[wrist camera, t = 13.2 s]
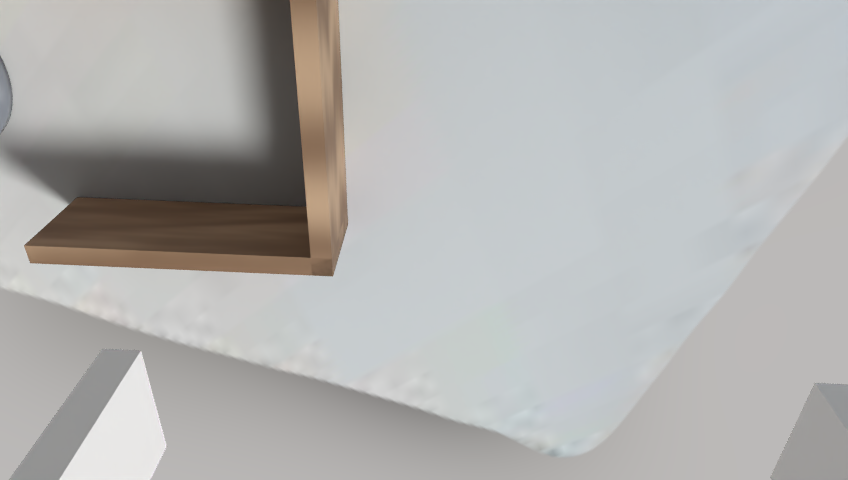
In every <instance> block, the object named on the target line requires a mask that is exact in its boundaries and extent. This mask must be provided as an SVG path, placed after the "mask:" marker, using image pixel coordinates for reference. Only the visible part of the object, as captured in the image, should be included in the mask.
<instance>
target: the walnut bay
mask: <svg viewBox="0 0 848 480" xmlns="http://www.w3.org/2000/svg"><path fill="white" fill-rule="evenodd" d="M290 10H291V22H292V34H293V46H294V59H295V71H296V83H297V95H298V107H299V120H300V132H301V144H302V156H303V169H304V181H305V193H306V205H307V207H302V206H278V205H253V204H229V203H204V202H180V201H156V200H131V199H107V198H83V197H77V198H76V199H75V200H74V201H73V202H72V203H70V204H69V205H68V206H67V207H66V208H65V209H64V210H63V211H62V212H61V213H59V214H58V215H57V216H56V217H55V218H54V219H53V220H52V221H51V222H50V223H48V224H47V225H46V226H45V227H44V228H43V229H42V230H41V231H40V232H38V233H37V234H36V235H35V236H34V237H33V238H32V239H31V240H30V241H29V242H27V243H26V244H25V245H24V247H25V250H26V252H27V255H28V258H29V261H30V263H40V264H63V265H86V266H109V267H132V268H155V269H178V270H201V271H224V272H246V273H269V274H292V275H315V276H333V274H334V271H335V267H336V264H337V261H338V257H339V254H340V250H341V247H342V243H343V240H344V236H345V233H346V229H347V226H348V215H347V192H346V169H345V147H344V124H343V101H342V79H341V56H340V33H339V11H338V0H290Z"/></svg>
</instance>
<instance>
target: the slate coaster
mask: <svg viewBox="0 0 848 480" xmlns="http://www.w3.org/2000/svg"><path fill="white" fill-rule="evenodd" d="M11 110H12V88H11V83H10V79H9V75H8V73H7V70H6V67H5V65H4V63H3V61H2V59H1V57H0V134H1V133H2V132H3V130H4V129H5V127H6V125H7V124H8V121H9V118H10V116H11Z"/></svg>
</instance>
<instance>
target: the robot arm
mask: <svg viewBox="0 0 848 480" xmlns="http://www.w3.org/2000/svg"><path fill="white" fill-rule="evenodd" d="M166 447H167V445H166V442H165V438H164V434H163V431H162V427H161V423H160V419H159V416H158V412H157V408H156V405H155V401H154V397H153V393H152V390H151V386H150V383H149V379H148V375H147V371H146V367H145V364H144V360H143V357H142V353H141V351H139V350H119V349H102V350H101V352H100V353H99V355H98V356H97V357H96V359H95V360H94V362H93V363H92V364H91V366H90V367H89V368H88V370H87V371H86V373H85V374H84V376H83V377H82V378H81V380H80V381H79V383H78V384H77V385H76V387H75V388H74V389H73V391H72V392H71V394H70V395H69V397H68V398H67V399H66V401H65V402H64V403H63V405H62V406H61V408H60V409H59V410H58V412H57V413H56V415H55V416H54V418H53V419H52V420H51V422H50V423H49V424H48V426H47V427H46V429H45V430H44V431H43V433H42V434H41V436H40V437H39V439H38V440H37V441H36V443H35V444H34V446H33V447H32V448H31V450H30V451H29V453H28V454H27V455H26V457H25V458H24V460H23V461H22V462H21V464H20V465H19V467H18V468H17V469H16V471H15V472H14V474H13V475H12V476H11V478H10V479H9V480H151V478H152V475H153V474H154V472H155V469H156V467H157V465H158V463H159V461H160V459H161V457H162V455H163V453H164V451H165V449H166ZM771 479H772V480H848V385H846V384H826V383H815V384H814V386H813V388H812V390H811V392H810V395H809V397H808V399H807V401H806V403H805V405H804V407H803V409H802V411H801V414H800V416H799V418H798V420H797V422H796V424H795V427H794V428H793V431H792V433H791V435H790V437H789V439H788V441H787V443H786V445H785V447H784V450H783V452H782V454H781V456H780V458H779V460H778V462H777V465H776V467H775V469H774V471H773V473H772V475H771Z"/></svg>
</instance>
